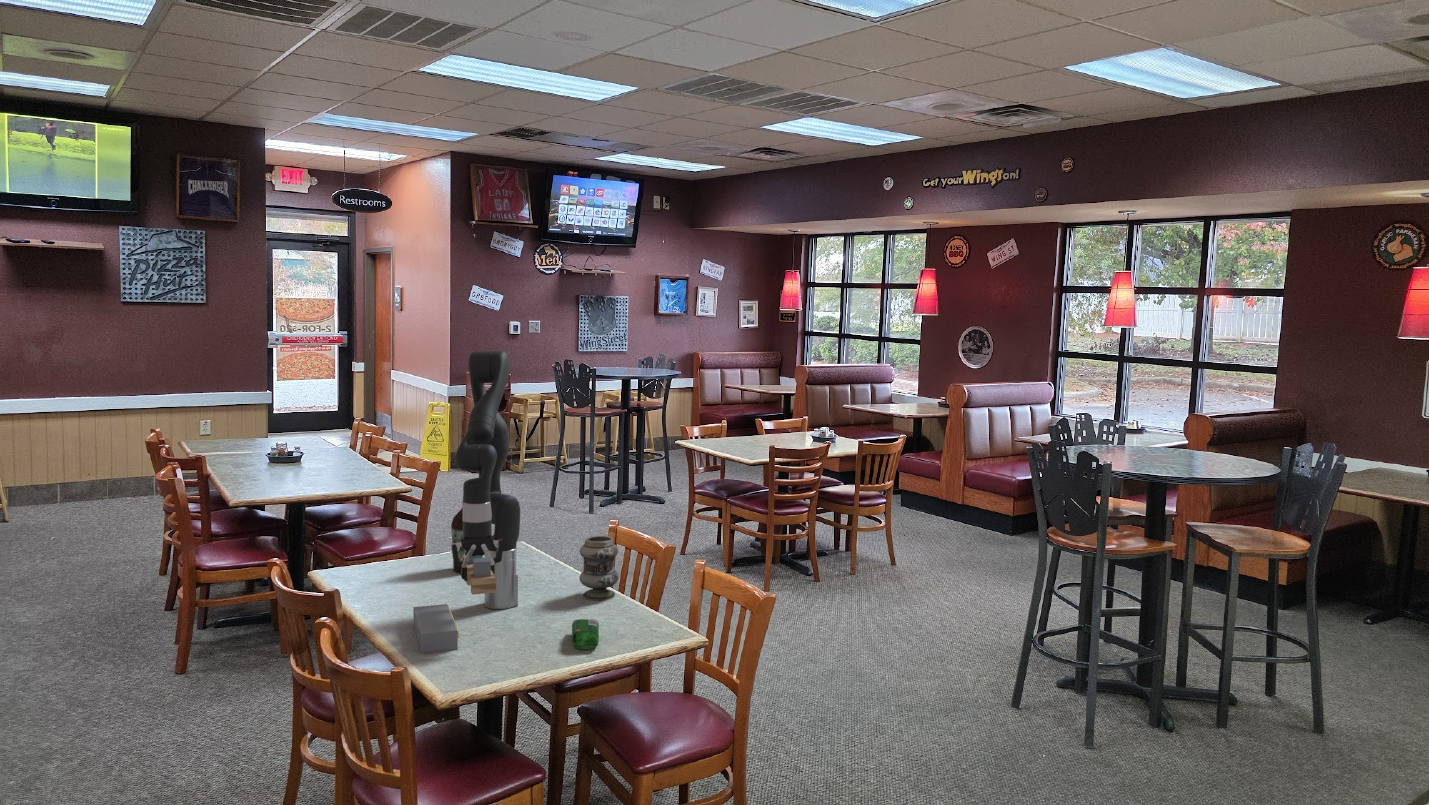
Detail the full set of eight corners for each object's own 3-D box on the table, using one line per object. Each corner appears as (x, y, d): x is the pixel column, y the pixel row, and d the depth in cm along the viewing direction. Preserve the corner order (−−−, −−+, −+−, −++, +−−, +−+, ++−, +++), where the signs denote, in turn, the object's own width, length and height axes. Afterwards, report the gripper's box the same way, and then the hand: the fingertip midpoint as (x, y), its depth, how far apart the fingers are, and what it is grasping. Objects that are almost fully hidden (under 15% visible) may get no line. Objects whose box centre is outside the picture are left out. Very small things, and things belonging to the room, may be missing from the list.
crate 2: (488, 572, 253) (488, 557, 253) (490, 576, 250) (490, 561, 249) (472, 573, 252) (472, 558, 251) (475, 577, 248) (475, 562, 248)
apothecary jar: (593, 587, 302) (594, 531, 300) (626, 593, 297) (626, 536, 295) (571, 597, 291) (571, 539, 290) (604, 604, 286) (604, 545, 284)
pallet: (461, 572, 266) (460, 558, 266) (483, 570, 268) (482, 556, 268) (472, 594, 247) (472, 579, 246) (495, 592, 249) (495, 577, 249)
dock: (448, 621, 267) (448, 604, 266) (458, 649, 246) (458, 630, 245) (413, 624, 263) (413, 607, 263) (421, 653, 242) (421, 634, 242)
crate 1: (480, 558, 266) (480, 544, 266) (482, 562, 262) (482, 548, 262) (465, 559, 265) (465, 545, 264) (467, 563, 261) (467, 549, 260)
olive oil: (462, 564, 326) (462, 492, 323) (490, 567, 323) (490, 494, 320) (445, 572, 315) (444, 497, 313) (473, 575, 313) (473, 500, 310)
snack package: (598, 632, 261) (598, 614, 261) (599, 652, 246) (599, 632, 245) (572, 633, 260) (572, 614, 260) (571, 653, 245) (571, 633, 244)
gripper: (501, 513, 262) (502, 573, 264) (447, 517, 256) (448, 578, 258) (506, 519, 255) (507, 580, 257) (451, 523, 249) (452, 585, 251)
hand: (477, 579), depth 257 cm, fingers closed on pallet, 6 cm apart
